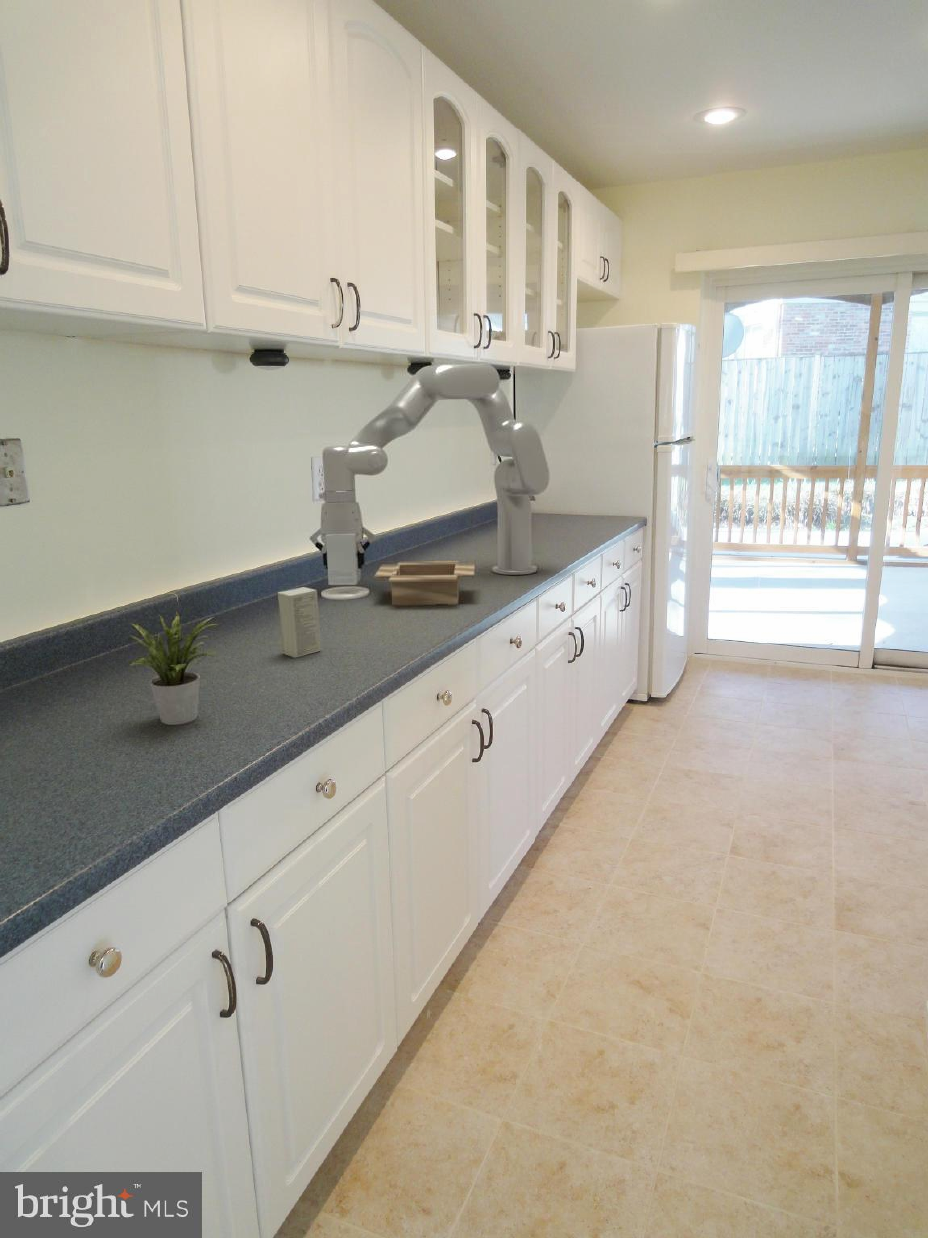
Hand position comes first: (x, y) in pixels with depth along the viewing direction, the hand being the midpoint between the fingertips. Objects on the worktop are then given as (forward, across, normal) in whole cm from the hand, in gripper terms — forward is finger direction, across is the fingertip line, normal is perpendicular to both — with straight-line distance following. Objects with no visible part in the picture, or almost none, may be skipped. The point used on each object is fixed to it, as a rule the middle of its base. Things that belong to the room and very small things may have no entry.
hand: (344, 567), depth 204 cm
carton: (+7, +21, -5) cm, 23 cm away
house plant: (+7, -10, -87) cm, 88 cm away
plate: (+7, 0, 0) cm, 7 cm away
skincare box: (+7, 0, -52) cm, 53 cm away
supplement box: (+4, 0, 0) cm, 4 cm away
